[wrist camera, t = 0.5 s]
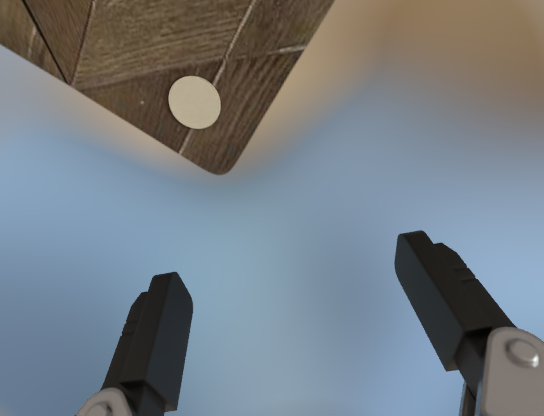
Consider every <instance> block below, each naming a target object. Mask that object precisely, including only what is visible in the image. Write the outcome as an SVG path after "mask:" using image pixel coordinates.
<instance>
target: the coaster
mask: <svg viewBox="0 0 544 416" xmlns="http://www.w3.org/2000/svg"><path fill="white" fill-rule="evenodd" d="M169 106H170V109H171V111H172V113H173V115H174V116H175V118H176V119H177V120H178V121H179V122H181V123H182V124H183V125H185V126H187V127H190V128H194V129H202V128H206V127H208V126H210V125H212V124H213V123H214V122H215V121H216V120H217V118H218V116H219V114H220V110H221V101H220V97H219V94H218V92H217V90H216V89H215V87H214V86H213V85H212V84H211V83H210V82H209V81H207V80H206V79H204V78H201V77H198V76H185V77H182V78H180V79H179V80H177V81H176V82H175V83H174V84H173V86H172V87H171V89H170V92H169Z"/></svg>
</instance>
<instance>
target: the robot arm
mask: <svg viewBox="0 0 544 416" xmlns="http://www.w3.org/2000/svg"><path fill="white" fill-rule="evenodd" d="M395 270H396V274H397V277H398V279H399V282H400V283H401V286H402V287H403V289H404V291H405V293H406V295H407V297H408V299H409V301H410V303H411V305H412V307H413V309H414V310H415V312H416V314H417V316H418V318H419V320H420V322H421V324H422V326H423V328H424V330H425V332H426V334H427V336H428V338H429V339H430V341H431V343H432V345H433V347H434V349H435V351H436V353H437V355H438V357H439V359H440V360H441V363H442V364H443V366H444V368H445V370H446V371H453V370H459V371H460V373H461V374H462V376H463V378H464V380H465V381H464V384H463V390H462V397H461V404H460V410H459V416H544V342H543V341H542V340H541V339H539V338H538V337H536V336H535V335H533V334H531V333H529V332H527V331H524V330H522V329H518V328H517V327H516V326H515V325H514V324H513V323H512V322H511V321H510V319H509V318H508V317H507V316H506V315H505V313H504V312H503V311H502V309H501V308H500V307H499V306H498V304H497V303H496V302H495V301H494V299H493V298H492V297H491V295H490V294H489V293H488V292H487V290H486V289H485V288H484V287H483V285H482V284H481V283H480V282H479V280H478V279H476V278H475V275H474V274H473V273H472V272H471V270H470V269H469V268H467V265H466V264H465V263H464V261H463V260H462V259H461V258H460V256H459V255H458V254H457V253H456V252H455V251H453V250H452V249H450V248H449V247H447V246H446V245H444V244H443V243H437V244H433V243H432V241H431V240H430V238H429V237H428V236H427V234H426V233H425V232H424V231H415V232H409V233H403V234H400V235H398V239H397V247H396V255H395ZM192 314H193V302H192V298H191V296H190V294H189V292H188V290H187V288H186V287H185V285H184V283H183V282H182V280H181V278H180V277H179V275H178V273H177V272H171V273H166V274H159V275H155V276H154V277H153V278H152V281H151V283H150V287H149V290H148V292H142V293H141V294H140V295H139V297H138V298H137V299H136V301H135V302H134V303H133V305H132V306H131V309H130V311H129V314H128V317H127V320H126V324H125V325H124V328H123V331H122V336H121V337H120V339H119V342H118V345H117V348H116V350H115V353H114V356H113V359H112V361H111V364H110V367H109V370H108V373H107V375H106V378H105V381H104V383H103V386H102V388H101V390H100V391H99V392H97V393H95V394H94V395H93V396H92V397H90V398H89V399H88V400H87V401H86V402H85V403H84V404H83V406H82V407H81V408H80V410H79V411H78V413H77V415H75V416H164V412H168V411H175V410H177V406H178V399H179V394H180V388H181V382H182V375H183V369H184V363H185V357H186V351H187V344H188V339H189V333H190V327H191V320H192Z"/></svg>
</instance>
